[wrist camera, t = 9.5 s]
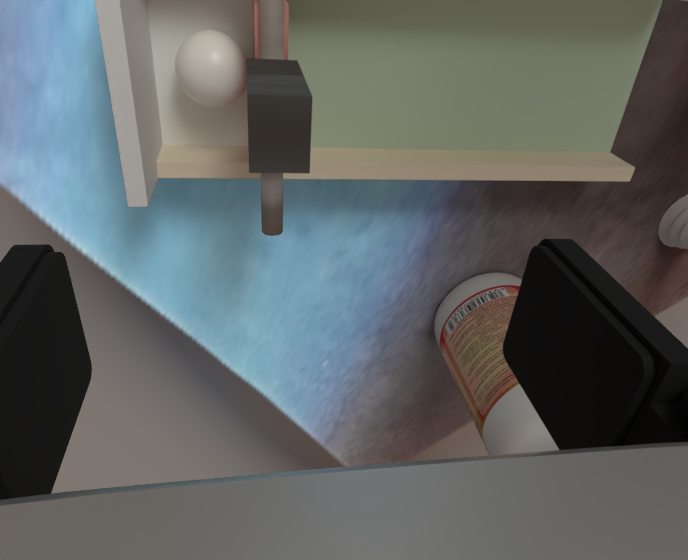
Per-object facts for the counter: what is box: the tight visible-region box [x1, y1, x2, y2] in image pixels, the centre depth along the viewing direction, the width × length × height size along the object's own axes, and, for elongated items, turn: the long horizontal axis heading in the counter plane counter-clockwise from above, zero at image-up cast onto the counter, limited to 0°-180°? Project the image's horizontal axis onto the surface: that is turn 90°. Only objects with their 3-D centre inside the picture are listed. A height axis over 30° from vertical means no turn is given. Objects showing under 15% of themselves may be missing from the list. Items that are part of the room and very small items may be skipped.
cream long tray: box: [95, 0, 688, 207], centre depth 31 cm, size 12×32×8 cm, turn 86°
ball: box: [175, 30, 247, 107], centre depth 29 cm, size 4×4×4 cm
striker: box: [247, 0, 312, 236], centre depth 26 cm, size 16×2×13 cm, turn 176°
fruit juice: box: [434, 272, 559, 456], centre depth 35 cm, size 9×9×28 cm
